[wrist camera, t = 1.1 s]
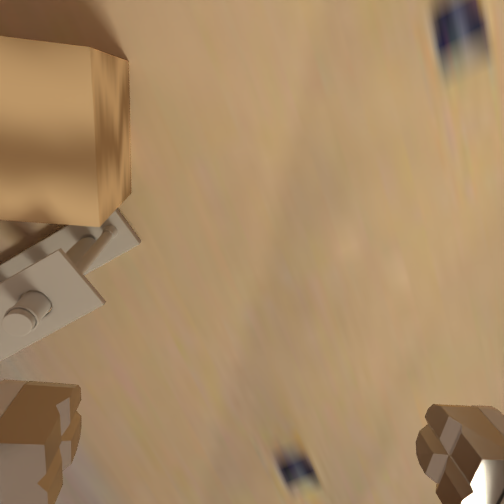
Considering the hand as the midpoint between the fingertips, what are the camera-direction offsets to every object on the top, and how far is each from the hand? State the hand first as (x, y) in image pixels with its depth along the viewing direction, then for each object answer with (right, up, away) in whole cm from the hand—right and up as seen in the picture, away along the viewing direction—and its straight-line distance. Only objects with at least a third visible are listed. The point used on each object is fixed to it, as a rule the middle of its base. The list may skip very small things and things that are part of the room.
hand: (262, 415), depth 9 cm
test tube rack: (-22, +1, +26) cm, 34 cm away
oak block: (-17, +14, +20) cm, 30 cm away
